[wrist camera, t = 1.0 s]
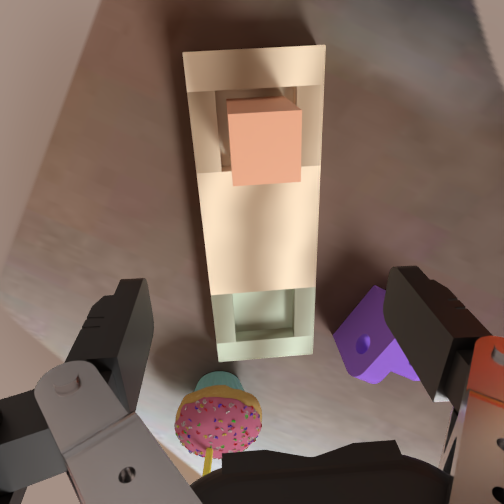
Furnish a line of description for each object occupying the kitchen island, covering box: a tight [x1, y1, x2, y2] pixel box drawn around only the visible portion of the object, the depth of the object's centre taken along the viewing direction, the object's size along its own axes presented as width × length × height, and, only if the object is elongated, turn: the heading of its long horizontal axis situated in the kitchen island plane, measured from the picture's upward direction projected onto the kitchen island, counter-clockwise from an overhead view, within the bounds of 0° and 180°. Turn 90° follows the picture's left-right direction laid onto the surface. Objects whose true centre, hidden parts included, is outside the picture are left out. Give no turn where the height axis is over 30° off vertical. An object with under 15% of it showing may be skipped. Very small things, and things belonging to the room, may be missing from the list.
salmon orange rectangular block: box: [226, 96, 302, 186], centre depth 24 cm, size 4×4×7 cm
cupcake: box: [174, 371, 262, 477], centre depth 36 cm, size 9×8×12 cm
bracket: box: [333, 285, 420, 384], centre depth 36 cm, size 12×7×7 cm, turn 60°
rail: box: [182, 45, 326, 362], centre depth 31 cm, size 9×26×2 cm, turn 3°
